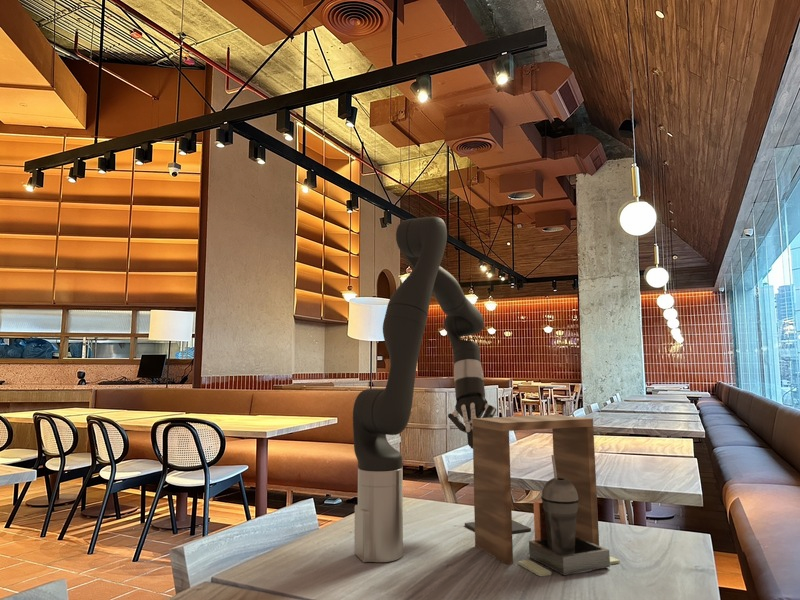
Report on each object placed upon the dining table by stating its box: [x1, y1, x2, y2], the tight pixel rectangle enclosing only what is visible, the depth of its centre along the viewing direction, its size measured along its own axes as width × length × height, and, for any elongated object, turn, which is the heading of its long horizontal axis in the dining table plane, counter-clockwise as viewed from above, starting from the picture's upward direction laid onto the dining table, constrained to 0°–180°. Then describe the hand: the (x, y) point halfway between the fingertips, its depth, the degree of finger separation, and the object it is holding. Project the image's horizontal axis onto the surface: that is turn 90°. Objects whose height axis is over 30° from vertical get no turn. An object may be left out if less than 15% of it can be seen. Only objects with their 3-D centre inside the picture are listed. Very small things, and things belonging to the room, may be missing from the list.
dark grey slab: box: [464, 519, 532, 535], centre depth 130 cm, size 12×10×1 cm
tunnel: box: [472, 414, 600, 565], centre depth 118 cm, size 23×12×27 cm, turn 112°
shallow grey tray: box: [528, 499, 611, 576], centre depth 108 cm, size 11×13×10 cm
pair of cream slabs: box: [517, 555, 621, 577], centre depth 106 cm, size 18×7×1 cm, turn 112°
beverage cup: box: [540, 455, 579, 555], centre depth 109 cm, size 7×7×20 cm
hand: (475, 448), depth 134 cm, fingers closed
